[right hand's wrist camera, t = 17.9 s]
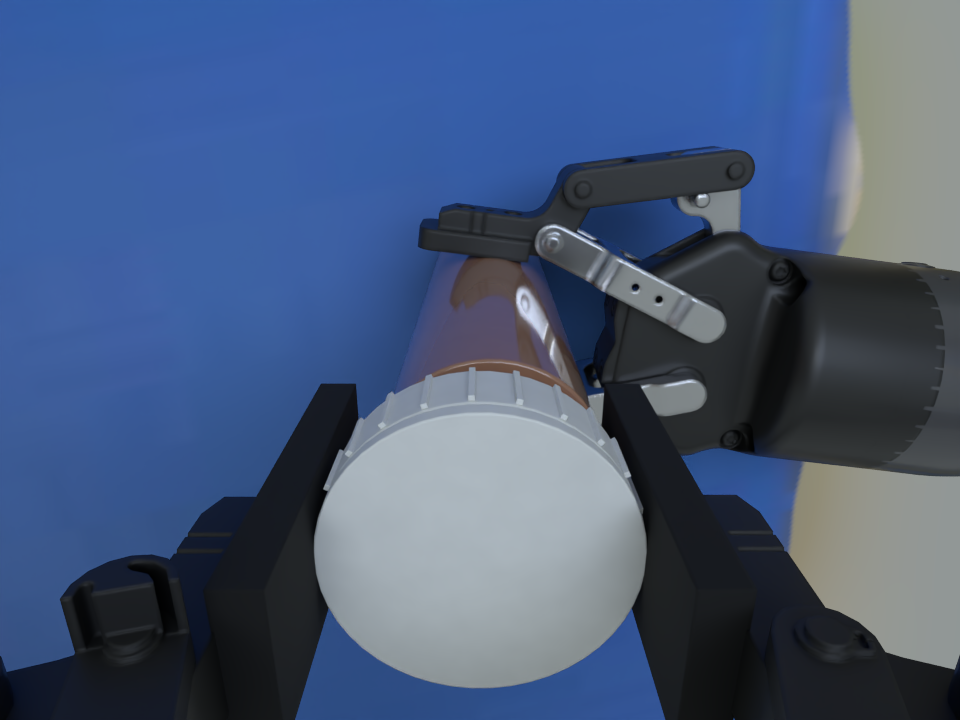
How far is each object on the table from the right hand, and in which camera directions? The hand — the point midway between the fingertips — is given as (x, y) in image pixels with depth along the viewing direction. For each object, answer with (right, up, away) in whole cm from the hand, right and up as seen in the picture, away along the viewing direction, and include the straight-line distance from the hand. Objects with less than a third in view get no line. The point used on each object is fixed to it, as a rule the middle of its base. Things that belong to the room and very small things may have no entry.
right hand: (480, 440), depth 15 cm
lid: (0, -1, -4) cm, 4 cm away
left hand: (-2, +4, +9) cm, 10 cm away
